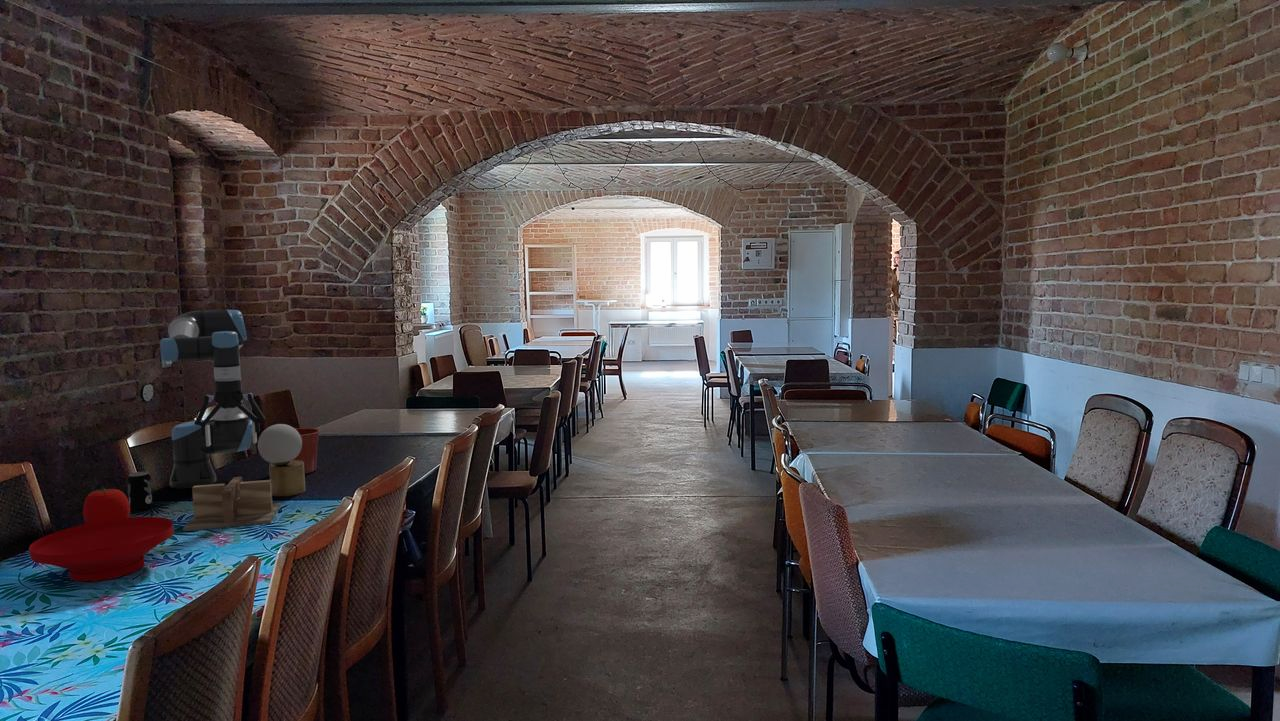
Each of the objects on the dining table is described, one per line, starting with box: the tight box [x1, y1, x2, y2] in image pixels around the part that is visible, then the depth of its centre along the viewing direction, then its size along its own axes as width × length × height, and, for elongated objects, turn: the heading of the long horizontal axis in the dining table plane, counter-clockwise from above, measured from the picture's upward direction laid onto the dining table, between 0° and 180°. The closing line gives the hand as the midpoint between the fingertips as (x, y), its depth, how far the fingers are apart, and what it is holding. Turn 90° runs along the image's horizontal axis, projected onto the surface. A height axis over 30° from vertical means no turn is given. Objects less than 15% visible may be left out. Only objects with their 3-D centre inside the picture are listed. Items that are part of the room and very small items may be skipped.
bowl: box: [28, 516, 175, 582], centre depth 199 cm, size 30×30×10 cm
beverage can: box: [126, 471, 154, 512], centre depth 256 cm, size 7×7×12 cm
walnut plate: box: [222, 476, 243, 523], centre depth 244 cm, size 18×2×10 cm, turn 17°
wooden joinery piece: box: [182, 479, 281, 532], centre depth 244 cm, size 20×24×11 cm
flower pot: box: [293, 427, 321, 475], centre depth 305 cm, size 16×16×16 cm
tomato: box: [82, 487, 131, 524], centre depth 230 cm, size 13×11×14 cm
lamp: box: [257, 423, 306, 498], centre depth 271 cm, size 15×14×25 cm
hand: (232, 444), depth 251 cm, fingers open, 13 cm apart
